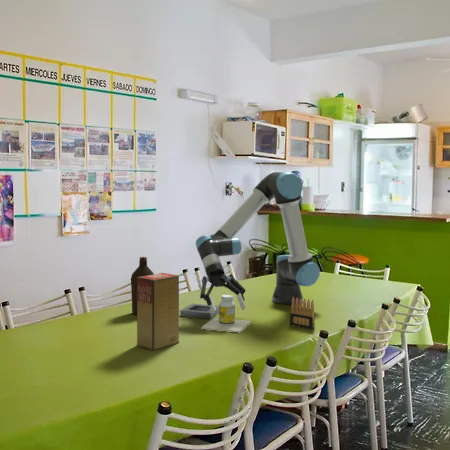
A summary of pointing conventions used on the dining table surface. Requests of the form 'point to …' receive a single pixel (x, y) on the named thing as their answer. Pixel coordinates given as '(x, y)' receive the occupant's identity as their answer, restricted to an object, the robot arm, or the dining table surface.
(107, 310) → the dining table surface
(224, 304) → the pill bottle
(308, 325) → the ammunition clip
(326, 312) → the dining table surface
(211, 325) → the cream tile
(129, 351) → the dining table surface
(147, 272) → the olive oil
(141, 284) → the food packaging
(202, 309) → the metal collar
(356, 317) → the dining table surface
